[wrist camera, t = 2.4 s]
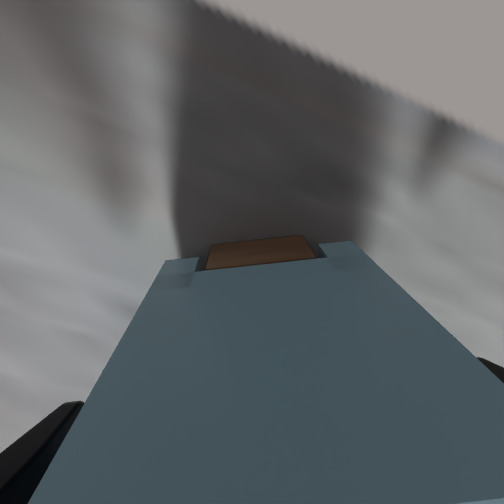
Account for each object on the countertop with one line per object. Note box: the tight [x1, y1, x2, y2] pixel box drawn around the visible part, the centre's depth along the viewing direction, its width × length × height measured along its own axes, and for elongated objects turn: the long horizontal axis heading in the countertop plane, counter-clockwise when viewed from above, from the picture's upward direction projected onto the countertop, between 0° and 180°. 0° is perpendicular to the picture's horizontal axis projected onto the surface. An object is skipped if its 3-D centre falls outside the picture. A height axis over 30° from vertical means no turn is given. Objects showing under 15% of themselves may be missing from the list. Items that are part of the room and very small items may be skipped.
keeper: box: [28, 241, 504, 504], centre depth 7 cm, size 5×6×7 cm
